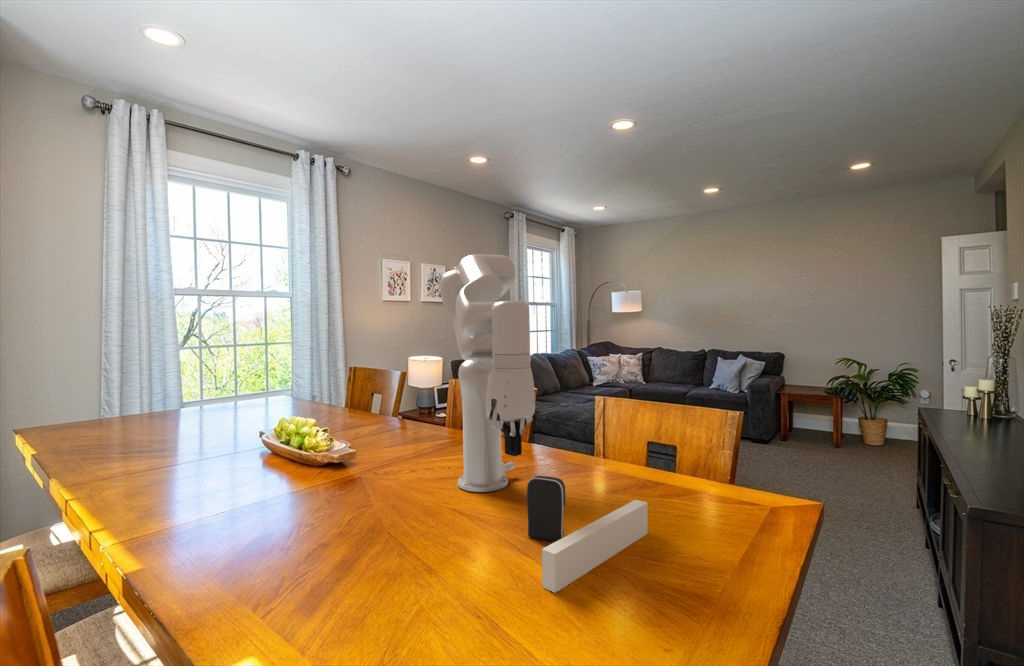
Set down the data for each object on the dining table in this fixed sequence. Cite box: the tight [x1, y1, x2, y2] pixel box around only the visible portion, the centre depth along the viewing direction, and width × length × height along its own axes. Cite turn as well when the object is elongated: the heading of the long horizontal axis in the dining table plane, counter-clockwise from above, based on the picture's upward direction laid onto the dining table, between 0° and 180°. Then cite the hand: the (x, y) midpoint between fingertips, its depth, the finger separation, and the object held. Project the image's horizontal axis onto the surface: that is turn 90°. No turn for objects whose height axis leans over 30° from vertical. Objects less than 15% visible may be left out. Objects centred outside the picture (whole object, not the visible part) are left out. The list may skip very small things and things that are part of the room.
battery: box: [526, 475, 566, 543], centre depth 95 cm, size 7×4×11 cm, turn 66°
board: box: [541, 499, 649, 594], centre depth 86 cm, size 28×2×6 cm, turn 136°
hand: (513, 454), depth 100 cm, fingers closed
